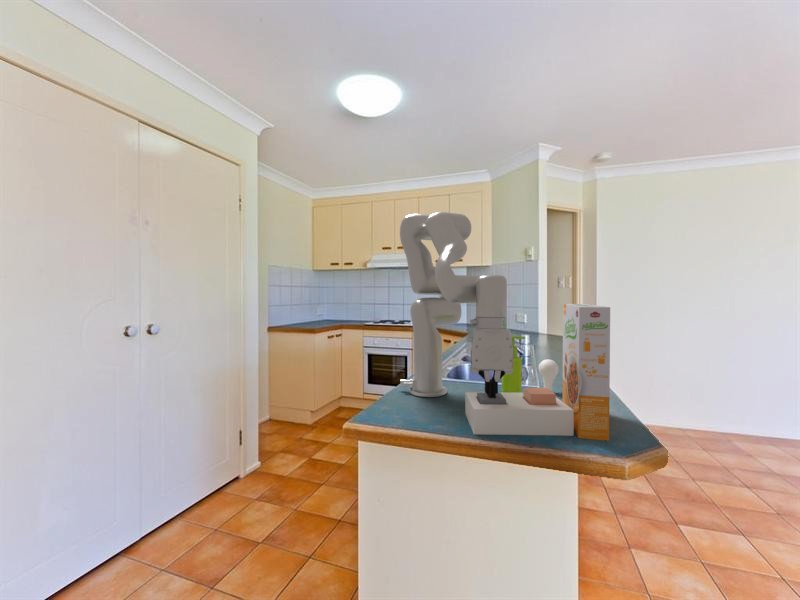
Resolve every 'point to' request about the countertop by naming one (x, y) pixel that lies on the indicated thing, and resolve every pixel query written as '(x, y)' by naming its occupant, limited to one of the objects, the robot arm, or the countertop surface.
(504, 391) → the soap dispenser
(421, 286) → the robot arm
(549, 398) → the key terracotta
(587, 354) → the cereal box
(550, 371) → the lightbulb
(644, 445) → the countertop surface
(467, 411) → the key panel
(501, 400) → the key charcoal
